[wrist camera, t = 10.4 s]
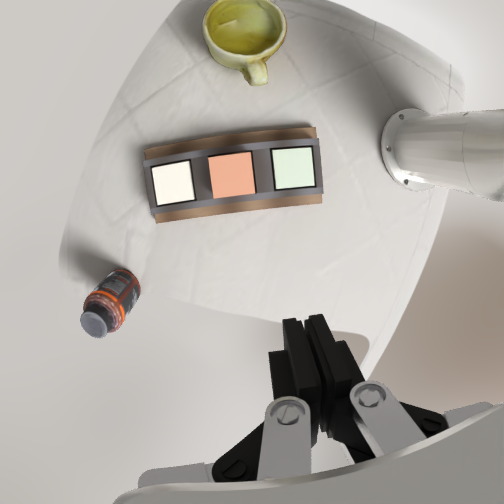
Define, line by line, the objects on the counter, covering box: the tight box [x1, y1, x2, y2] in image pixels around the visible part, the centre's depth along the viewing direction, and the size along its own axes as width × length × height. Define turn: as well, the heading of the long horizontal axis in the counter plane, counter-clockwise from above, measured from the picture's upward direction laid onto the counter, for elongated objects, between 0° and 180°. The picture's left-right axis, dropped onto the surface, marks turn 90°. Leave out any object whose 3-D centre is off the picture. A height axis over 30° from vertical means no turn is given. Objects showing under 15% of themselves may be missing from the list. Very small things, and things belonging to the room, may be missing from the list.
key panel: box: [143, 127, 323, 224], centre depth 33 cm, size 22×10×4 cm, turn 96°
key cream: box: [152, 161, 196, 205], centre depth 33 cm, size 5×5×2 cm
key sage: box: [271, 148, 315, 189], centre depth 33 cm, size 5×5×2 cm
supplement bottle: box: [80, 269, 140, 338], centre depth 34 cm, size 6×6×11 cm
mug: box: [202, 0, 287, 86], centre depth 26 cm, size 12×10×10 cm
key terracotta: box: [208, 152, 255, 199], centre depth 31 cm, size 5×5×2 cm
